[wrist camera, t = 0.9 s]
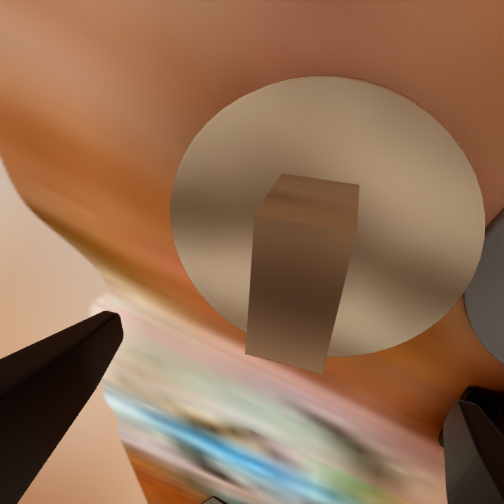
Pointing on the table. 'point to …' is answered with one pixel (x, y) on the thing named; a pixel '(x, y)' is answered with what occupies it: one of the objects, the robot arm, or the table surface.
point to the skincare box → (212, 501)
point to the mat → (489, 291)
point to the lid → (327, 219)
